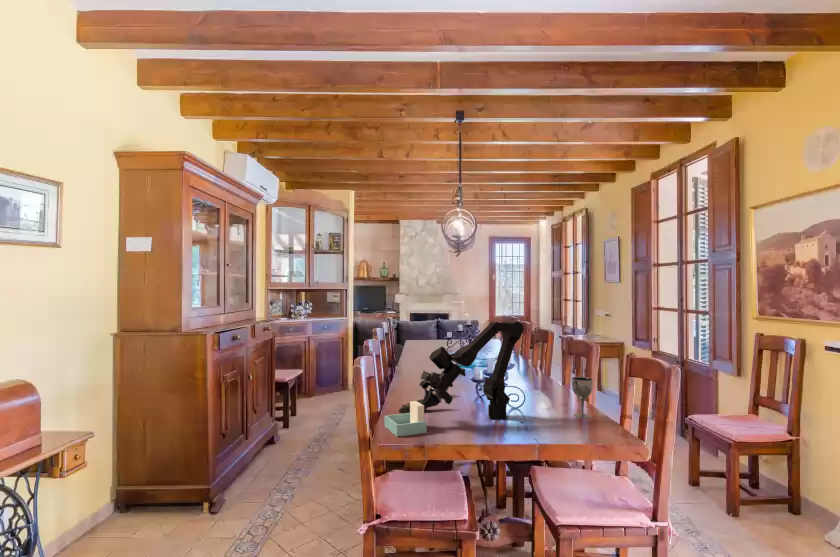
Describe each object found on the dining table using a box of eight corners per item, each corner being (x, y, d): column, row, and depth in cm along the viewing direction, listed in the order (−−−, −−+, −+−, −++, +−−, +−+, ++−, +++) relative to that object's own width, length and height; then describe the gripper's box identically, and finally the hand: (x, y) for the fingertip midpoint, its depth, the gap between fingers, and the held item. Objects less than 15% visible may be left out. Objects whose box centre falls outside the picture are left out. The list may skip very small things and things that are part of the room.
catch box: (412, 422, 182) (412, 412, 183) (426, 432, 170) (426, 421, 170) (384, 426, 178) (384, 415, 178) (396, 436, 166) (396, 425, 166)
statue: (402, 420, 195) (447, 407, 200) (400, 408, 194) (445, 395, 199) (398, 414, 201) (442, 401, 206) (396, 402, 200) (440, 389, 205)
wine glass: (593, 414, 193) (593, 377, 193) (592, 419, 186) (591, 381, 186) (573, 412, 197) (573, 376, 197) (570, 417, 189) (570, 379, 190)
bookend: (416, 424, 180) (416, 401, 180) (424, 430, 173) (424, 405, 173) (392, 427, 176) (392, 403, 176) (399, 433, 169) (399, 408, 170)
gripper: (423, 359, 188) (397, 390, 183) (444, 367, 170) (416, 401, 166) (441, 378, 191) (416, 408, 186) (464, 387, 173) (436, 421, 169)
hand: (420, 409), depth 177 cm, fingers closed, pressing on bookend
